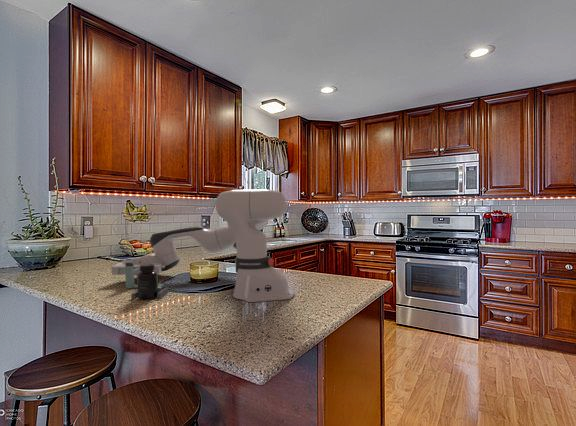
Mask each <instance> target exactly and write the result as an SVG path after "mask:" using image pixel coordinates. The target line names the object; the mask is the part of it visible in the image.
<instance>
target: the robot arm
mask: <svg viewBox="0 0 576 426" xmlns="http://www.w3.org/2000/svg"><path fill="white" fill-rule="evenodd" d="M286 209H287V201H286V197H285V196H284V194H283V193H282V192H281V191H277V190H272V189H230V190H227V191H222V192H220V193H218V196H217V197H216V200H215V211H216V212H217V214H218V216H220V218H221V219H223V220H224V221H225V222H226V223H227V225H224V226H219V227H216V228H213V229H212V228H211V229H209V228H208V229H207V228H205V227H204V226H193V227H185V228H179V229H172V230H160V231H157V232H154V233H152V235H150V238H149V243H150V246H151V248H152V250H153V252H149V253H147V254H145V255H142V256H138V257H136V258H128V259H127V258H126V259H123V260H122V262H117V263H116V264H114V265H112V266H111V269H110V271H111V274H112V275H113V276H118V275H119V276H120V275H121V276H123V275H125V266H126V263H127V262H133V265H134V276H137V275H138V274H139V273H140V272H141V271H140V266H141V265H145V264H154V268H155V269H154V271H155V272H156V273H157V275H158V274H160V273H161V272H166V271H169V270H171V269H173V268H174V267H176V266H177V265H178V264H179V262H180V256H179V254H178V250H177V248H176V245H175V242H174V239H178V238H184V237H191V238H192V239H193V240H195V241H196V242H197V244H199V246H200V247H201V248H202V249H203V250H205V251H206V252H208V253H211V254H212V253H217V252H222V251H224V250H228V249H229V248H232V247H233V248H235V250H236V257H235V261H234V262H235V263H234V265H235V267H234V268H235V273H236V275H235V276H236V277H235V285H234V290H233V294H232V296H233V298H235V299H237V300H243V301H245V302H248V303H258V302H266V301H267V302H268V301H281V300H292V298H293V297H294V296H295V293H294V292H295V291H294V288H291V287H289V285H288V280H287V277H286V276H285V275H284V274H283V273H282V272H280V271H279V270H277V268H275V267H274V266H273V265H274V259H273V258H272V257H270V256H268V251H267V249H268V248H267V242H268V241H267V236H266V234H265V233H264V232H263V231H261V230H263V229H265V227H267V225H268V223H269V220H274V219H278V218H281V217H282V216H283V215H284V213H285V211H286Z"/></svg>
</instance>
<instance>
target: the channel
mask: <svg viewBox="0 0 576 426" xmlns="http://www.w3.org/2000/svg"><path fill="white" fill-rule="evenodd" d="M167 294H169V287H163V288H162V290H161V291H160V292H158V293H157V297H156V298H157V300H160V299H162V298H164V297H165V296H166V295H167ZM130 297H131V300H136V299H138V290H135V291H134V292H132V293H131V296H130Z"/></svg>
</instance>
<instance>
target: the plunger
mask: <svg viewBox="0 0 576 426" xmlns="http://www.w3.org/2000/svg"><path fill="white" fill-rule="evenodd" d="M124 279H125V289H134V288H137V284H135V275H134V265H133V262H127V263H126V266H125V277H124ZM163 288H165V284H164V283H158V292H160V291H161V290H163Z"/></svg>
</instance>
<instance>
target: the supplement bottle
mask: <svg viewBox="0 0 576 426" xmlns="http://www.w3.org/2000/svg"><path fill="white" fill-rule="evenodd" d="M154 269H155V268H154V264H145V265H141V266H140V271H141V272H140V273H139V274H138V275H137V277H136V283H137V287H136V288H137V290H138V298H137V299H138V300H140V301H148V300H149V301H150V300H154V299H156V298H157V293H158V284H159V282H158V279H159V278H158V274H157V273H156V272H155V271H154ZM137 290H136V291H137Z"/></svg>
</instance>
